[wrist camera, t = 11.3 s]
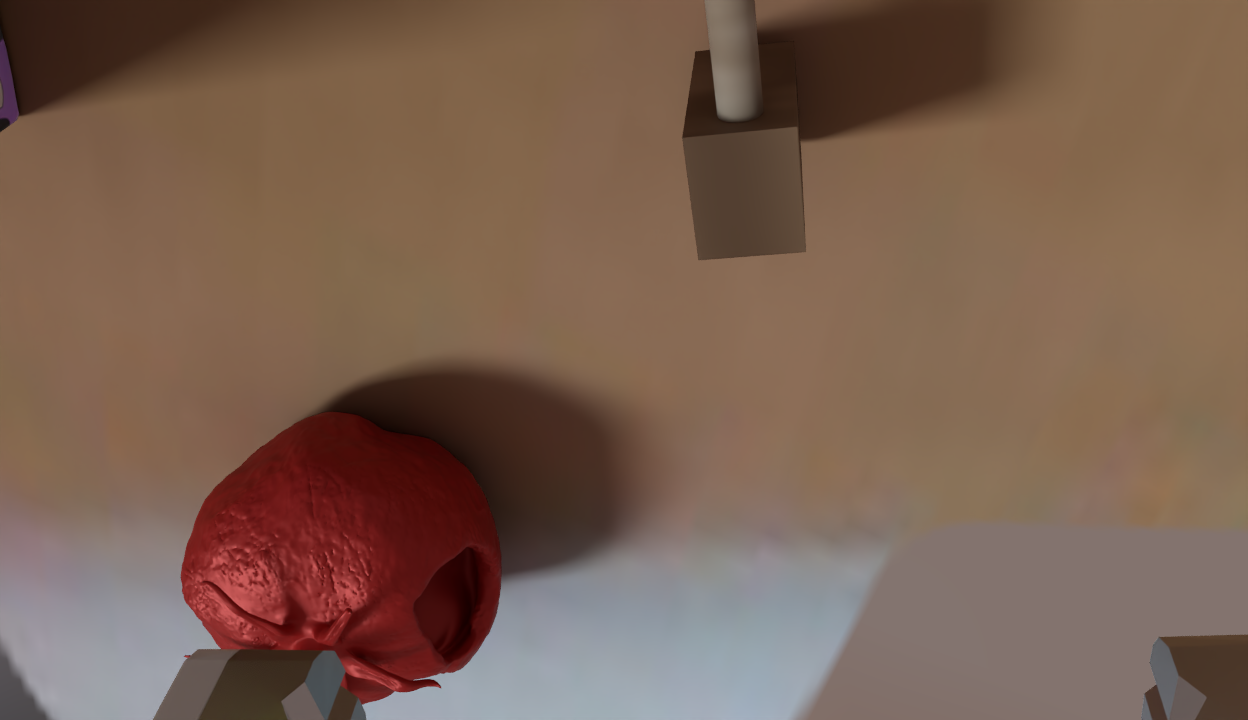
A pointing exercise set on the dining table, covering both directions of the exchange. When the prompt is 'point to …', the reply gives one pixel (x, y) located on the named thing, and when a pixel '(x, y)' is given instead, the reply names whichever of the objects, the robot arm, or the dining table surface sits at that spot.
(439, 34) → the dining table surface
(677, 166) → the dining table surface
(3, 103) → the candy box
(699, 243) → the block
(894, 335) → the dining table surface
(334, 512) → the pomegranate
